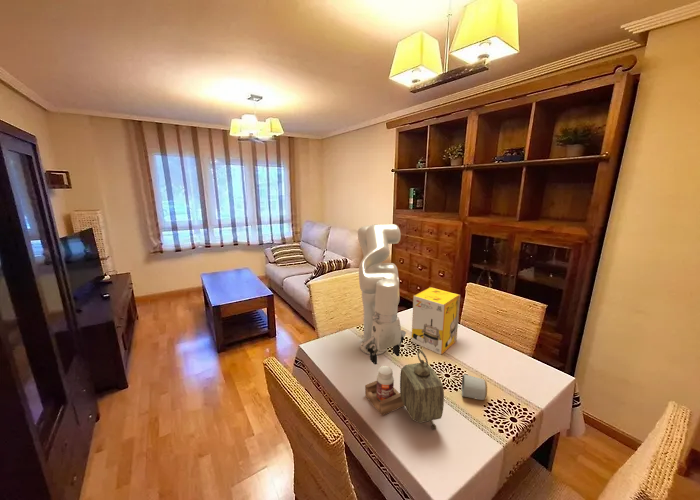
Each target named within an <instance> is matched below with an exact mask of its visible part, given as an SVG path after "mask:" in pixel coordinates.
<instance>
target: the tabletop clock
mask: <svg viewBox="0 0 700 500" xmlns="http://www.w3.org/2000/svg"><path fill="white" fill-rule="evenodd" d="M416 353H417V358H418V360H419V362H416V363H409V364H405V365H404V366H403V367H402V368H401V370H400V373H399V374H400V375H399V393H400V396H401V399H402V401H403V403H404V405H405V406H404V407H405V409H406V411H407V412H408V415H409V416H410V418H411V420H413V421H415V422H417V423H419V424H421V423H424V422H429V423H430V425H431V426H430V427H431V429H432V430H433V431H435V430H436V429H437V425H436V424H434V423H433V421H437V420H440V419H442V418H443V417H442V416H443V412H444V404H445V402H444V401H445V392H444V385H443V383H442V380H441V379H440V378H439V376H438V374H437V373H436V372H435V370H434V369H433V368H432V367H431V366H430V364H429V361H428V358H427V355H426V354H425V353H424V351H422V349H418V350H417V352H416ZM420 354H421V355H422V356H423V358H424V359H425V360H424V359H421V357H420Z"/></svg>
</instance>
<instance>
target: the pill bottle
mask: <svg viewBox="0 0 700 500" xmlns="http://www.w3.org/2000/svg"><path fill="white" fill-rule="evenodd" d="M377 372H378V373H377V376H376V381H377V398H378V400H379V401H382V400H385V399H387V398H389V397H392V396H393V389H394V388H395V387H394V386H395V385H394V383H395V382H394V381H395V378H394V376H393V373H394V371H393V368H392V367H390V366H388V365H382V366H379V367H378V371H377Z"/></svg>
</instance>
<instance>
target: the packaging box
mask: <svg viewBox="0 0 700 500" xmlns="http://www.w3.org/2000/svg"><path fill="white" fill-rule="evenodd" d="M412 297H413V298H412V317H411V318H412V324H411V326H412V327H411V343H413V344H415V345H416V344H417V345H418V346H421V347H422V348H426V349H427V350H430V351H432V352H434V353H437V354H439V355H443V354H444V353H445V352H446V351H447V350H448V349H450V347H452V346H453V345H454V344H455V343H456V342H457V340H458V339H457V337H458V327H459V318H460V317H459V316H460V315H459V314H460V302H461V294H458V293H453V292H450V291H446V290H442V289H438V288H435V287H433V286H432V287H431V286H429V287H428V288H426V289H424V290H422V291H420V292H418V293H416V294H414V295H413V296H412Z"/></svg>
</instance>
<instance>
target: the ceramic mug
mask: <svg viewBox="0 0 700 500" xmlns="http://www.w3.org/2000/svg"><path fill="white" fill-rule="evenodd" d="M487 395H488V383H487V381H486V380H485V379H483V378H482V377H481V378H480V377H475V376H472V375H469V374H465V373H463V375H462V378H461V396H462V397H466V398H470V399H475V400H481V401H482V400H484V401H485V400H486V399H487V397H488V396H487Z"/></svg>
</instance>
